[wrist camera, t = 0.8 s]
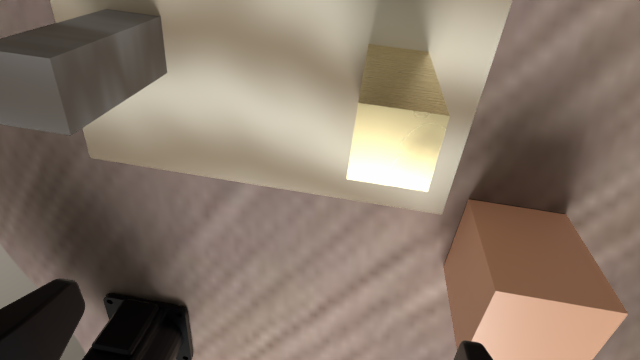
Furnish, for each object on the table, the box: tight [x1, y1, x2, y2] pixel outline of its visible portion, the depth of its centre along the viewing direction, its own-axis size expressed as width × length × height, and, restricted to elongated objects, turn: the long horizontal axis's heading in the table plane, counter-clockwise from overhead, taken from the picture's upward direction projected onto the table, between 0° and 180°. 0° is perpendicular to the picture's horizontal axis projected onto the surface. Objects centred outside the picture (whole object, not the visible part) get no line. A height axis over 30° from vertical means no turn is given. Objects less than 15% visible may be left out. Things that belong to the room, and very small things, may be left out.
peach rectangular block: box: [444, 199, 628, 360], centre depth 20 cm, size 5×5×7 cm
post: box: [346, 44, 450, 192], centre depth 15 cm, size 3×3×7 cm
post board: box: [0, 0, 513, 215], centre depth 16 cm, size 14×20×8 cm
